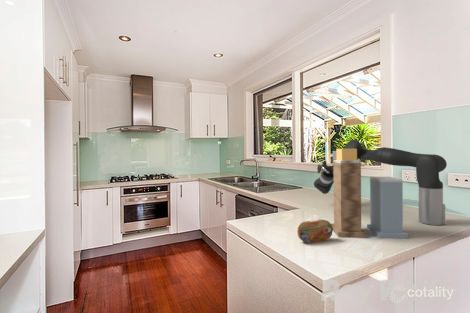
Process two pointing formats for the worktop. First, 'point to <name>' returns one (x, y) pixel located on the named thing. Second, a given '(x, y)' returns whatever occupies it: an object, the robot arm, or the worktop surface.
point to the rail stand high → (347, 199)
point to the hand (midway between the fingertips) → (334, 162)
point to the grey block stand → (386, 208)
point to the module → (345, 154)
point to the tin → (315, 231)
